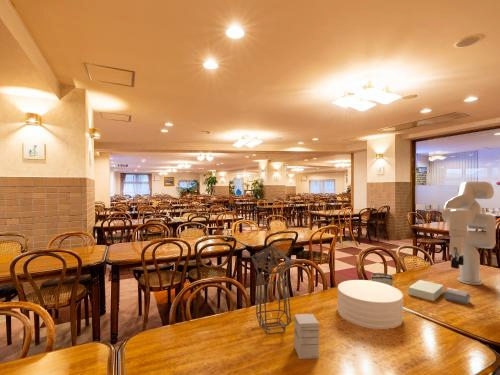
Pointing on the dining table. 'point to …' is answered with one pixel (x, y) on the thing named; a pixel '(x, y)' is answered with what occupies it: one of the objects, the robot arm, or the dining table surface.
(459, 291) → the cover
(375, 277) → the food container
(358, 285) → the plate stack
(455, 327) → the dining table surface
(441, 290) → the stand
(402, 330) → the dining table surface
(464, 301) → the housing base
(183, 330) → the dining table surface
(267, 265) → the geometric lantern
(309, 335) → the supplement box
